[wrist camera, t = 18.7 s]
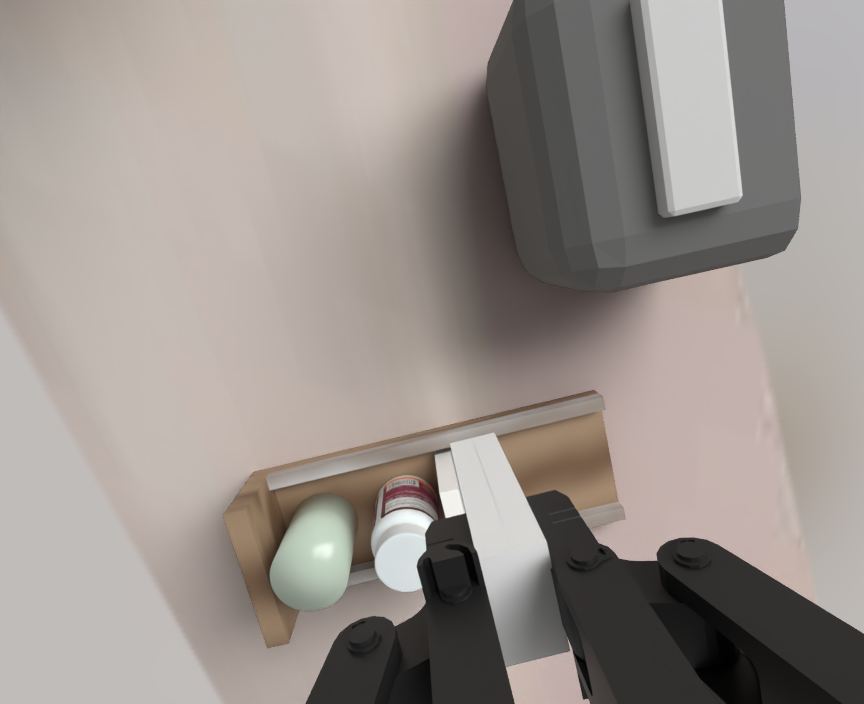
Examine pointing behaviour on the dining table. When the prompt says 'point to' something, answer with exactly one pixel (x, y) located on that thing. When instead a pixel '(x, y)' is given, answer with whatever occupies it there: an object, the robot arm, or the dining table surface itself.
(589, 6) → the alarm clock
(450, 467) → the paddle
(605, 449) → the tray
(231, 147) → the dining table surface
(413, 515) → the pill bottle
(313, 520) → the pale green rounded block
